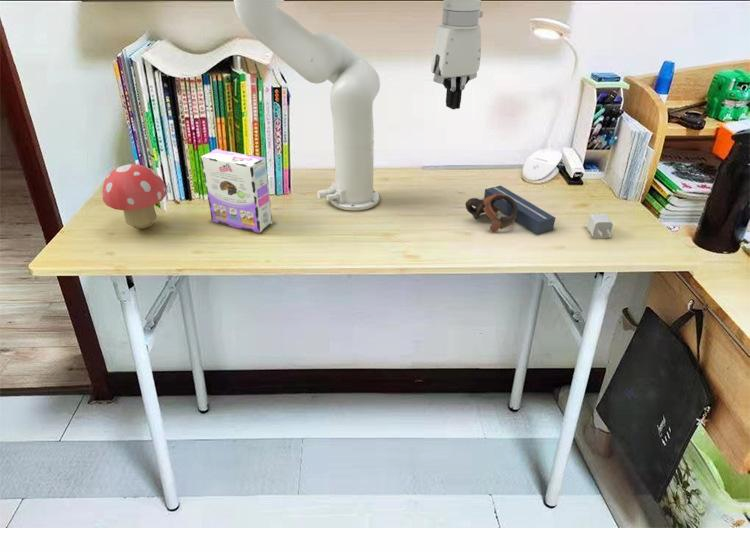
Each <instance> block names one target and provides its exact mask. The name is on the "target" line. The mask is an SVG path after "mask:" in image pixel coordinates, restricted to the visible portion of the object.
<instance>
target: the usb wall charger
mask: <svg viewBox="0 0 750 552" xmlns="http://www.w3.org/2000/svg"><path fill="white" fill-rule="evenodd" d="M613 227H614V223H613V222H612V220H611V219H610V218H609V216H608V215H607V214H606V213H603V212H602V213H601V212H600V213H598V212H597V213H596V212H595V213H594V212H593V213H590V214H589V216H588V219H587V222H586V228H587V230H588V232H589V233H590V234H591V237H593V238H595V239H605V238H606V239H607V238H611V237H612V230H613Z"/></svg>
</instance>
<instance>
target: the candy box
mask: <svg viewBox="0 0 750 552" xmlns="http://www.w3.org/2000/svg"><path fill="white" fill-rule="evenodd" d="M200 161H201V166H202V167H201V168H202V173H203V178H204V183H205V188H206V194H207V201H208V204H209V205H208V206H209V212H210V217H211V222H212V223H217V224H221V225H224V226H229V227H233V228H237V229H241V230H244V231H245V230H246V231H249V232H253V233H257V234H261V232H264V230H265V229H267V228H268V227H270V226H271V225H272V224H273V215H272V214H273V213H272V205H271V196H270V186H269V185H270V184H269V176H268V167H267V159H266V157H262V156H258V155H257V156H256V155H251V154H245V153H241V152H240V153H239V152H235V151H229V150H224V149H220V148H215V149H213V150H211V151H209V152H207V153H205V154H203V155H201V156H200Z"/></svg>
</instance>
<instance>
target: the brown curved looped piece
mask: <svg viewBox="0 0 750 552" xmlns="http://www.w3.org/2000/svg"><path fill="white" fill-rule="evenodd" d="M500 199H504V200H506V201H507V203H508V204H510V205H511V206H512V207H513V214H512V215H510V216H507V215H505V216H503V215H502V216H500V218H498V212H500V211H499V209H500V208H499V207H496V206H495V205H493V204H494V203H495V201H496V200H500ZM465 209H466V210H467V212H468V213H469V214H471V216H473V219H474V220H477V219H478V218H479V217H480V215H483V214H484V213H485V215H486V216H487V217H488V219H489V220H490V221H491V222H492V225H491V226H489V230H490V231H491V232H494V233H496V232H498V231H499V230H502V229H505V228H507V227H509V226H511V225H512V224H514V221H515V219H516V214H517V205H516V203H515V201H514V200H513V199H512V198H511V197H509V196H507V195H504V194H494V195H492V196H489V197H486V198H485V199H484V198H483V199H480V198H477V197H471V198H469V199H467V200H466V201H465Z"/></svg>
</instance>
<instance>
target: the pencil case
mask: <svg viewBox="0 0 750 552" xmlns="http://www.w3.org/2000/svg"><path fill="white" fill-rule="evenodd" d="M494 194H504V195H507V196H509V197H511V198H512V199H513V200H514V201H515V203H516V205H517V214H516V219H515V220H514V221H515V222H517V223H518V224H520V225H521V226H523V227H524V228H526V229H527V230H529V231H530V232H532V233H534V234H535V235H540V234H544V233H547V232H550V231H553V230H554V227H555V223H556V217H555V216H553V215H552V214H550V213H549V212H547V211H545V210H544V209H541V208H540V207H539V206H537V205H535V204H533V203H532V202H530V201H528V200H527V199H525V198H524V197H521V196H519V195H518V194H516V193H514V192H513V191H511V190H509V189H508V188H506V187H504V186H502V185H497V186H493V187H489V188H485V189H484V196H483V199H485V198H486V197H489V196H492V195H494ZM493 205H495V206H496V207H499V208H500V209H499V211H498V212H501V213H502V214H504V215H505V216H510V215H512V214H513V207H512V206H511V205H510V204H508V203H507V201H506V200H504V199H500V200H496V201H495V203H494V204H493Z"/></svg>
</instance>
